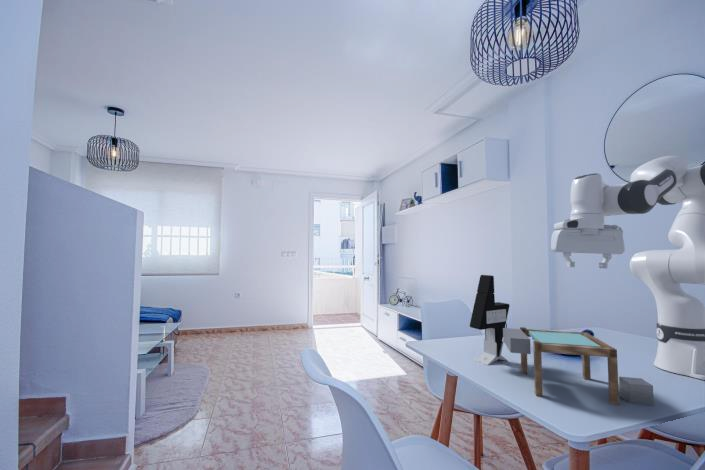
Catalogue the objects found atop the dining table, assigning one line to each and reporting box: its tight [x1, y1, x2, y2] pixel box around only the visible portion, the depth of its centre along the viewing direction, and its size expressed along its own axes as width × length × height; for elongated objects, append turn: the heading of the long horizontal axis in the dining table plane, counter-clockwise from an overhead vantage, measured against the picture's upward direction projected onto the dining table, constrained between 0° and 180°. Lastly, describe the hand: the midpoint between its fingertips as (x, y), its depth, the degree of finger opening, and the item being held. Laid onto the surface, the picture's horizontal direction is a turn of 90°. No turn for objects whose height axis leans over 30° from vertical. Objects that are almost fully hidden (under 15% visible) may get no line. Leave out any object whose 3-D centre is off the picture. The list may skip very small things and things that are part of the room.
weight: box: [618, 376, 655, 407], centre depth 84 cm, size 5×5×5 cm
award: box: [469, 274, 510, 366], centre depth 116 cm, size 15×5×30 cm, turn 117°
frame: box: [519, 326, 620, 406], centre depth 93 cm, size 18×18×14 cm
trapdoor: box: [502, 327, 601, 355], centre depth 95 cm, size 22×14×4 cm, turn 74°
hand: (586, 267), depth 104 cm, fingers open, 8 cm apart
